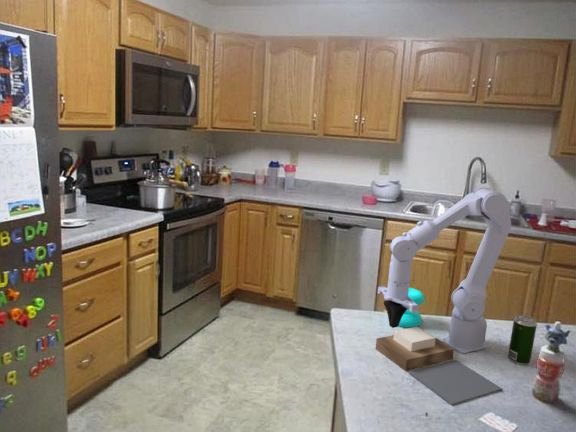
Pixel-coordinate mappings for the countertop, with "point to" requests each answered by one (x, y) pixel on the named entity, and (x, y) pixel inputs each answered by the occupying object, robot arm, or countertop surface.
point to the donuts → (409, 317)
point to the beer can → (522, 339)
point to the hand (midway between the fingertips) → (393, 326)
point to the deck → (414, 353)
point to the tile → (414, 338)
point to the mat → (454, 382)
